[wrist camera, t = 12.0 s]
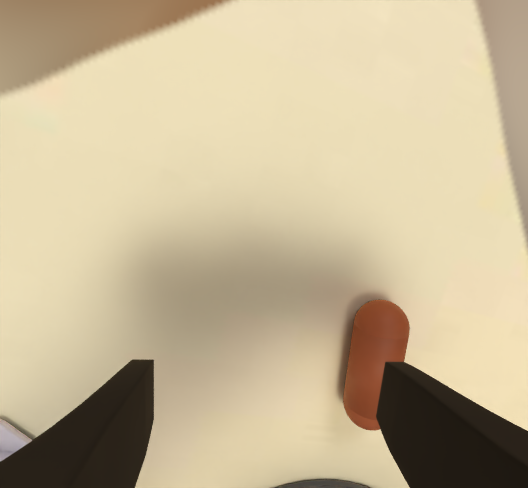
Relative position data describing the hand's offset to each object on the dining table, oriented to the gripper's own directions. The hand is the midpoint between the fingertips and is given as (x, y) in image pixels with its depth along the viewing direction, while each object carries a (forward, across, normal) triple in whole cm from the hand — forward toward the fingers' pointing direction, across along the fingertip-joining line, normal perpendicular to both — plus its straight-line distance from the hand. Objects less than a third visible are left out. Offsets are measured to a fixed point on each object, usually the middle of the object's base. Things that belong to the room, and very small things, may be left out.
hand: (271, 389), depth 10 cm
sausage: (+8, -8, +4) cm, 12 cm away
